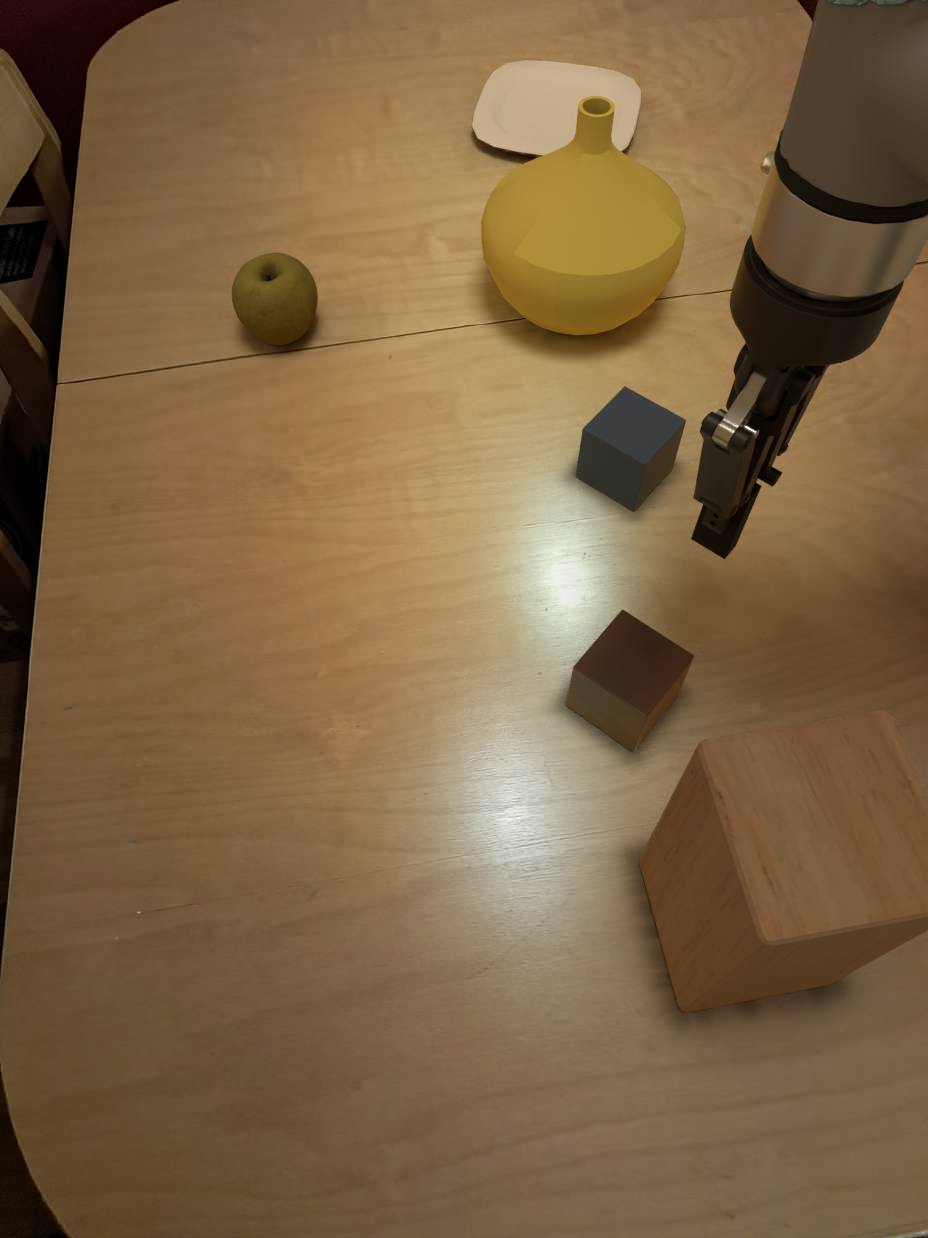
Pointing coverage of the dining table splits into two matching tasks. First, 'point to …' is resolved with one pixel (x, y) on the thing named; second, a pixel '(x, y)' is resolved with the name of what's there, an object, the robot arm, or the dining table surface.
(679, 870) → the wooden block
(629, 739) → the walnut block
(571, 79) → the plate
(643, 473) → the slate block
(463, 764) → the dining table surface
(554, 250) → the vase
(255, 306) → the apple
